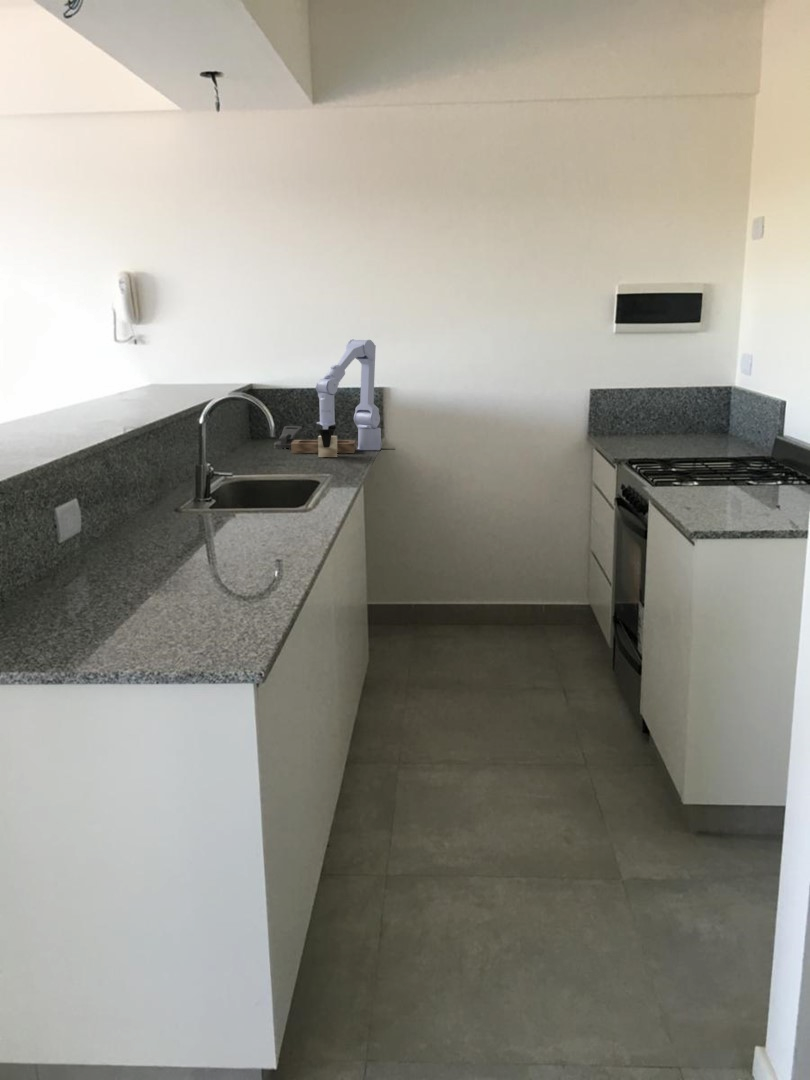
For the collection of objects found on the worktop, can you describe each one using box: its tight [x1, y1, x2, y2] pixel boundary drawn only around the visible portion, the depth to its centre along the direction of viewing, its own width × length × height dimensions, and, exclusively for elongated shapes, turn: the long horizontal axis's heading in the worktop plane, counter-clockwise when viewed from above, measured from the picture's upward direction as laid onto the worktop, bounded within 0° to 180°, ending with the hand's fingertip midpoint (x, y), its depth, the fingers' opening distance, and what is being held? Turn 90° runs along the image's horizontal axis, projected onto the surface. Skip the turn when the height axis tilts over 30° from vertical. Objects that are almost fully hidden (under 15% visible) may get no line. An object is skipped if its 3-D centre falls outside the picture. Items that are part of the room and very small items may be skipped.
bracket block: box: [317, 435, 338, 458], centre depth 353 cm, size 7×4×8 cm, turn 89°
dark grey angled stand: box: [273, 425, 303, 449], centre depth 385 cm, size 9×7×25 cm
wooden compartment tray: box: [290, 439, 357, 454], centre depth 366 cm, size 25×10×4 cm, turn 89°
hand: (327, 445), depth 353 cm, fingers open, 7 cm apart
